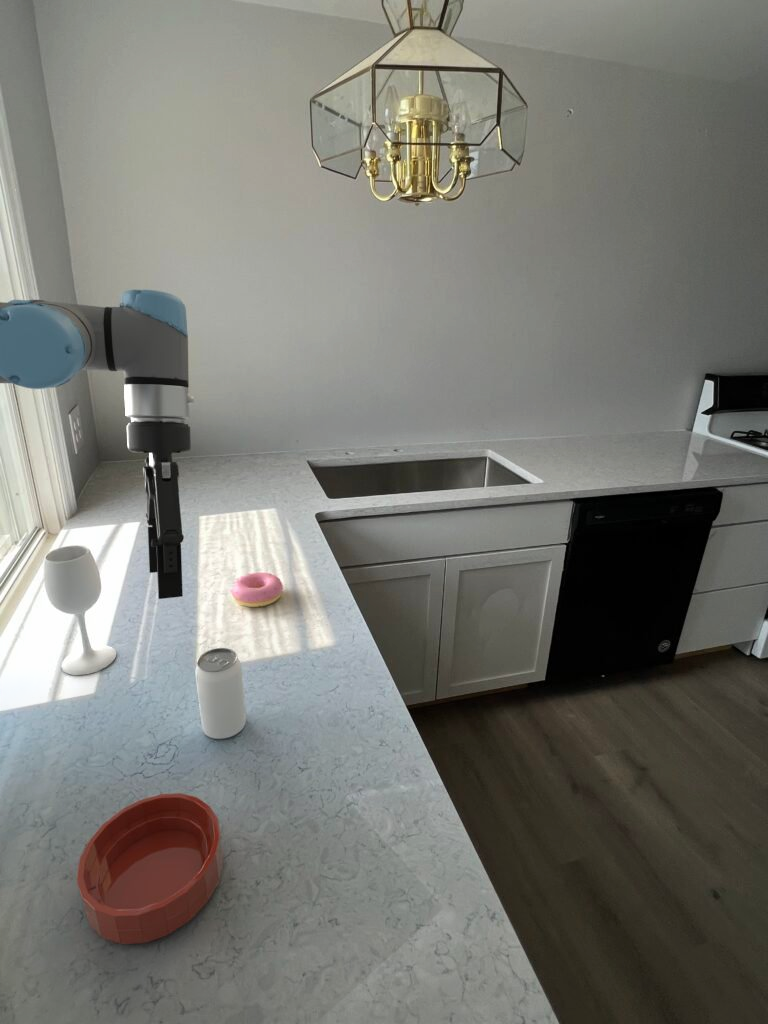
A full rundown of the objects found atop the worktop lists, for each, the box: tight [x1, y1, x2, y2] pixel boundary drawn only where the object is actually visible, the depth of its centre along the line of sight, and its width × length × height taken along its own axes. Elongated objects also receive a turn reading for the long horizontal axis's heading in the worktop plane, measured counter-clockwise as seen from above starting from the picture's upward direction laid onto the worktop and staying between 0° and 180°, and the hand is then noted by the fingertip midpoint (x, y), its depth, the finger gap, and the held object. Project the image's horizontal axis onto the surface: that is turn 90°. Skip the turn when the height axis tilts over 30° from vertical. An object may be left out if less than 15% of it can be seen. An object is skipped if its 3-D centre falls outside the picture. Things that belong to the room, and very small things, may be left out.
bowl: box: [76, 792, 224, 945], centre depth 61 cm, size 14×14×5 cm
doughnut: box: [230, 572, 284, 608], centre depth 120 cm, size 11×11×4 cm
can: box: [194, 647, 247, 740], centre depth 82 cm, size 6×6×12 cm
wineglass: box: [43, 545, 117, 676], centre depth 95 cm, size 9×9×21 cm
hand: (164, 583), depth 74 cm, fingers open, 13 cm apart
